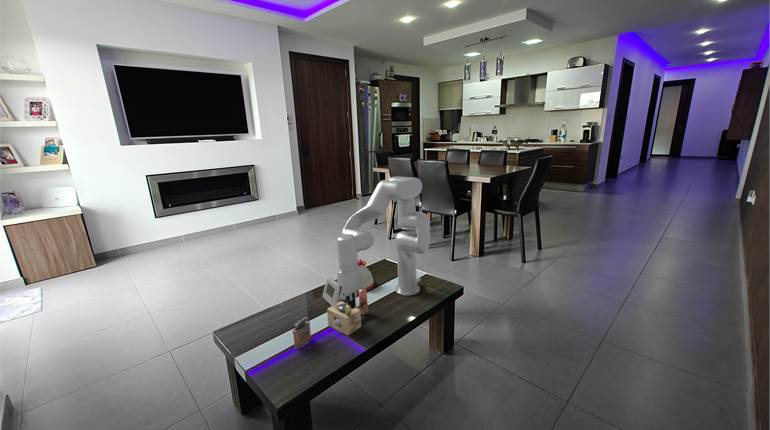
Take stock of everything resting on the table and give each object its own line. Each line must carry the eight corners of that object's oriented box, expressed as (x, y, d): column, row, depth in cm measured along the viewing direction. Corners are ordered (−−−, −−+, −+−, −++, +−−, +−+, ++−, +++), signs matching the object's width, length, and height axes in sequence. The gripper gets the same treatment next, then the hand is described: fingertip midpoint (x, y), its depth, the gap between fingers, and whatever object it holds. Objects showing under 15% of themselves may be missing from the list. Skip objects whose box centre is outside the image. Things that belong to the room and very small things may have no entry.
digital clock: (322, 296, 163) (320, 277, 160) (339, 293, 166) (338, 274, 164) (329, 312, 148) (327, 291, 146) (347, 308, 152) (346, 287, 149)
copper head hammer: (363, 309, 148) (362, 287, 146) (369, 312, 146) (368, 289, 143) (333, 329, 134) (331, 304, 132) (339, 332, 132) (336, 307, 129)
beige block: (342, 317, 144) (340, 301, 142) (361, 326, 136) (360, 309, 134) (328, 325, 138) (327, 308, 136) (347, 335, 130) (346, 318, 128)
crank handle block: (347, 304, 138) (346, 294, 137) (355, 316, 129) (354, 305, 128) (336, 307, 136) (335, 296, 135) (343, 319, 127) (342, 308, 126)
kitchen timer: (343, 284, 176) (341, 259, 172) (364, 277, 183) (363, 253, 180) (356, 294, 165) (355, 267, 161) (378, 286, 173) (377, 260, 169)
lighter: (298, 350, 123) (295, 327, 120) (292, 347, 124) (289, 324, 122) (313, 338, 129) (311, 316, 127) (307, 336, 131) (305, 314, 129)
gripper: (355, 257, 134) (358, 297, 139) (327, 270, 123) (332, 312, 128) (368, 261, 130) (370, 302, 134) (341, 275, 119) (345, 318, 123)
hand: (351, 307), depth 131 cm, fingers closed
